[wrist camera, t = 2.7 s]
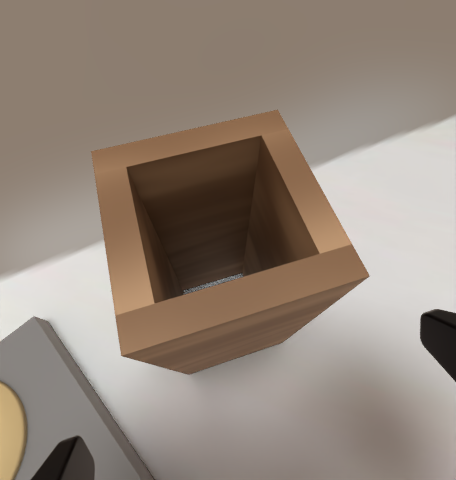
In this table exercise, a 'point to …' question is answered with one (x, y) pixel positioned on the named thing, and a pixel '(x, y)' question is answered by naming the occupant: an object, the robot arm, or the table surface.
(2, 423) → the post stand
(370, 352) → the table surface
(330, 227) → the wooden pencil cup
